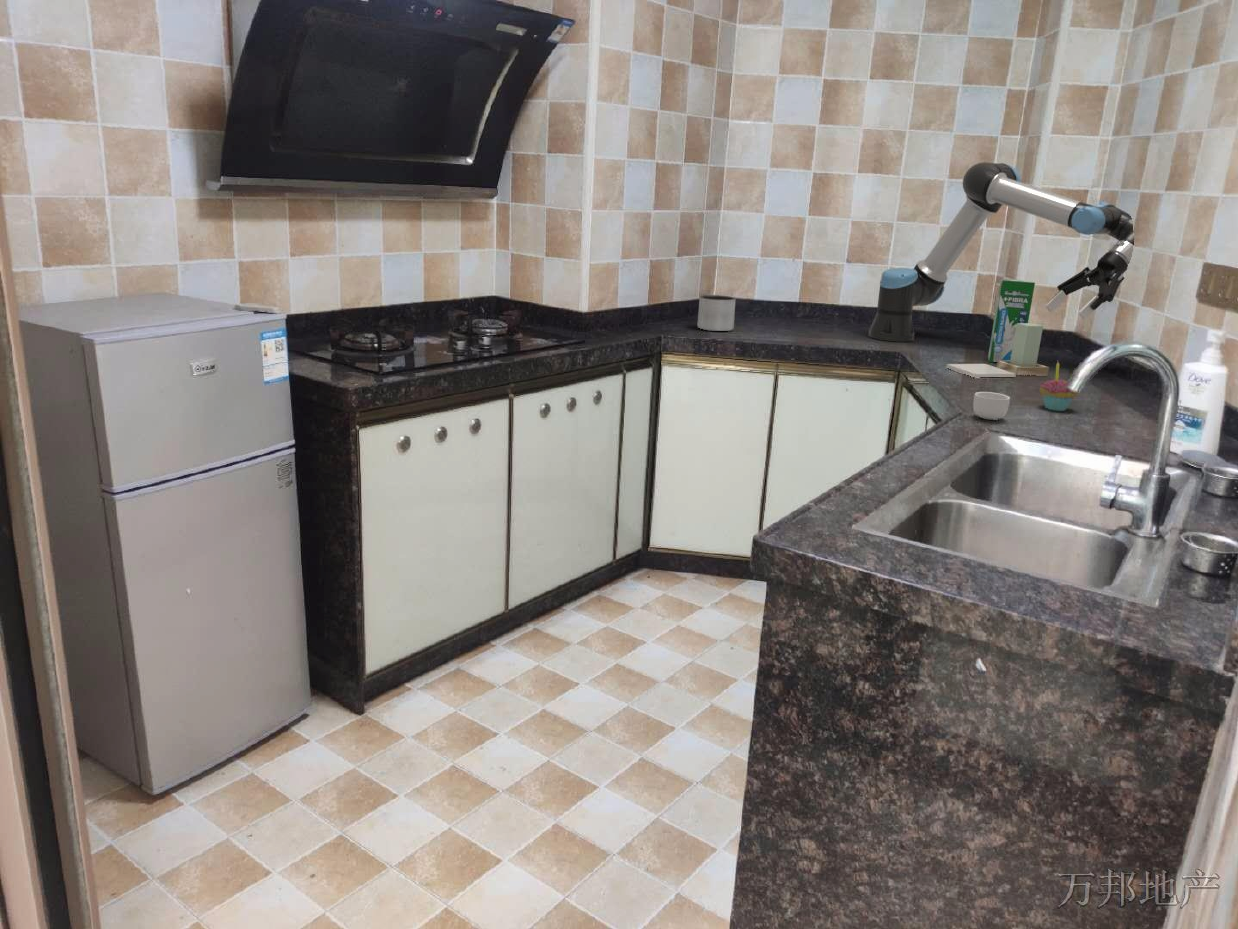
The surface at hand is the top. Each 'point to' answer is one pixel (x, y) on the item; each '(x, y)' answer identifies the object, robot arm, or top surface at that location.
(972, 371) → the trivet
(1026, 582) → the top surface
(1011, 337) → the milk carton
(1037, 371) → the holder
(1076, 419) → the top surface
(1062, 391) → the cupcake
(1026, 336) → the post
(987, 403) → the teacup
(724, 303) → the planter
